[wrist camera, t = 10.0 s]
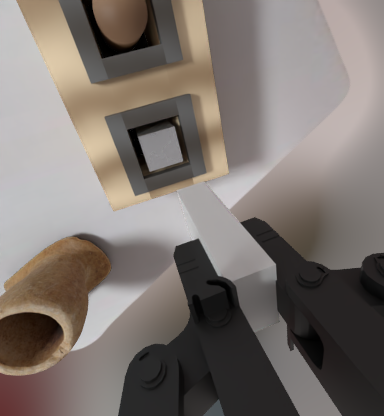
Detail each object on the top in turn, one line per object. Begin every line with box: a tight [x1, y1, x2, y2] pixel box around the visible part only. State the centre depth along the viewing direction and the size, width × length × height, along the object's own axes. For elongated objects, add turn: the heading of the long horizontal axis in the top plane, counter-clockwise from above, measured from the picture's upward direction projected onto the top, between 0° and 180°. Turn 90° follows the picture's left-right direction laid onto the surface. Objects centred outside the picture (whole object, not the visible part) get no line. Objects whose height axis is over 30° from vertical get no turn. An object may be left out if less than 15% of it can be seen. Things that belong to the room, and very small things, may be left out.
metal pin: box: [135, 119, 183, 172], centre depth 28 cm, size 4×4×9 cm
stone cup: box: [0, 237, 111, 375], centre depth 31 cm, size 15×12×15 cm
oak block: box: [16, 0, 229, 211], centre depth 25 cm, size 22×14×9 cm, turn 13°
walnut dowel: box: [92, 0, 148, 53], centre depth 22 cm, size 4×4×9 cm
